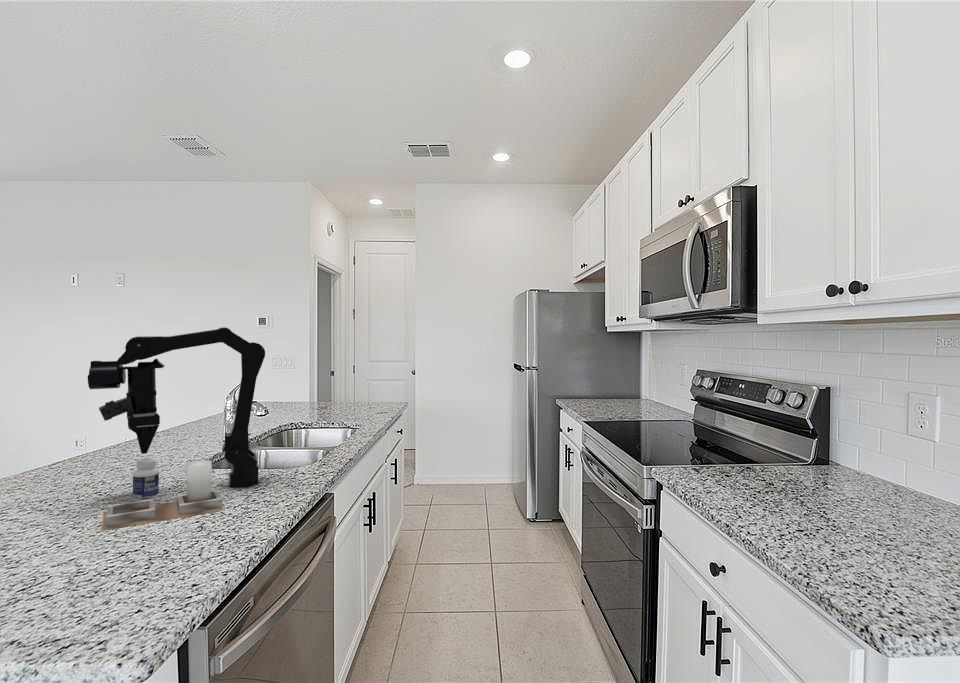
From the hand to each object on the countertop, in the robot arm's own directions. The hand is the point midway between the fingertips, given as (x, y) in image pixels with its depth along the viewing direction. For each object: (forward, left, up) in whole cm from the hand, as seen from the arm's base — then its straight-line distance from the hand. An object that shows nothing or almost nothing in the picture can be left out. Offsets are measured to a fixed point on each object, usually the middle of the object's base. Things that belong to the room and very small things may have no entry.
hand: (143, 449), depth 124 cm
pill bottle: (-1, -1, -13) cm, 13 cm away
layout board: (-4, +16, -13) cm, 21 cm away
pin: (-11, +16, -11) cm, 22 cm away
